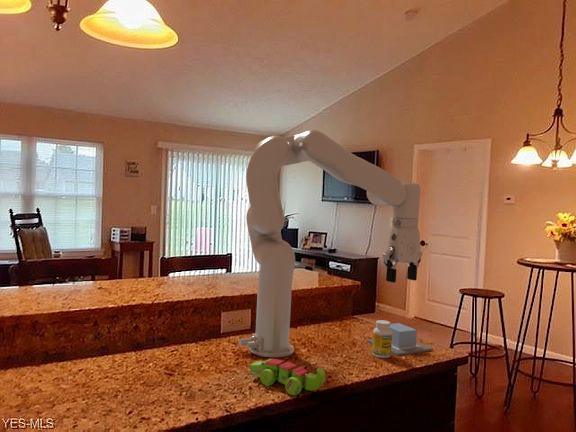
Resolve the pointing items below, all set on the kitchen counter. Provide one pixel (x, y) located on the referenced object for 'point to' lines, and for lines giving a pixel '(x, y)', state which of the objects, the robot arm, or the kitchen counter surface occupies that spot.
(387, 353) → the supplement bottle
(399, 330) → the light blue block
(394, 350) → the base plate
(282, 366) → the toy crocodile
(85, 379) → the kitchen counter surface
